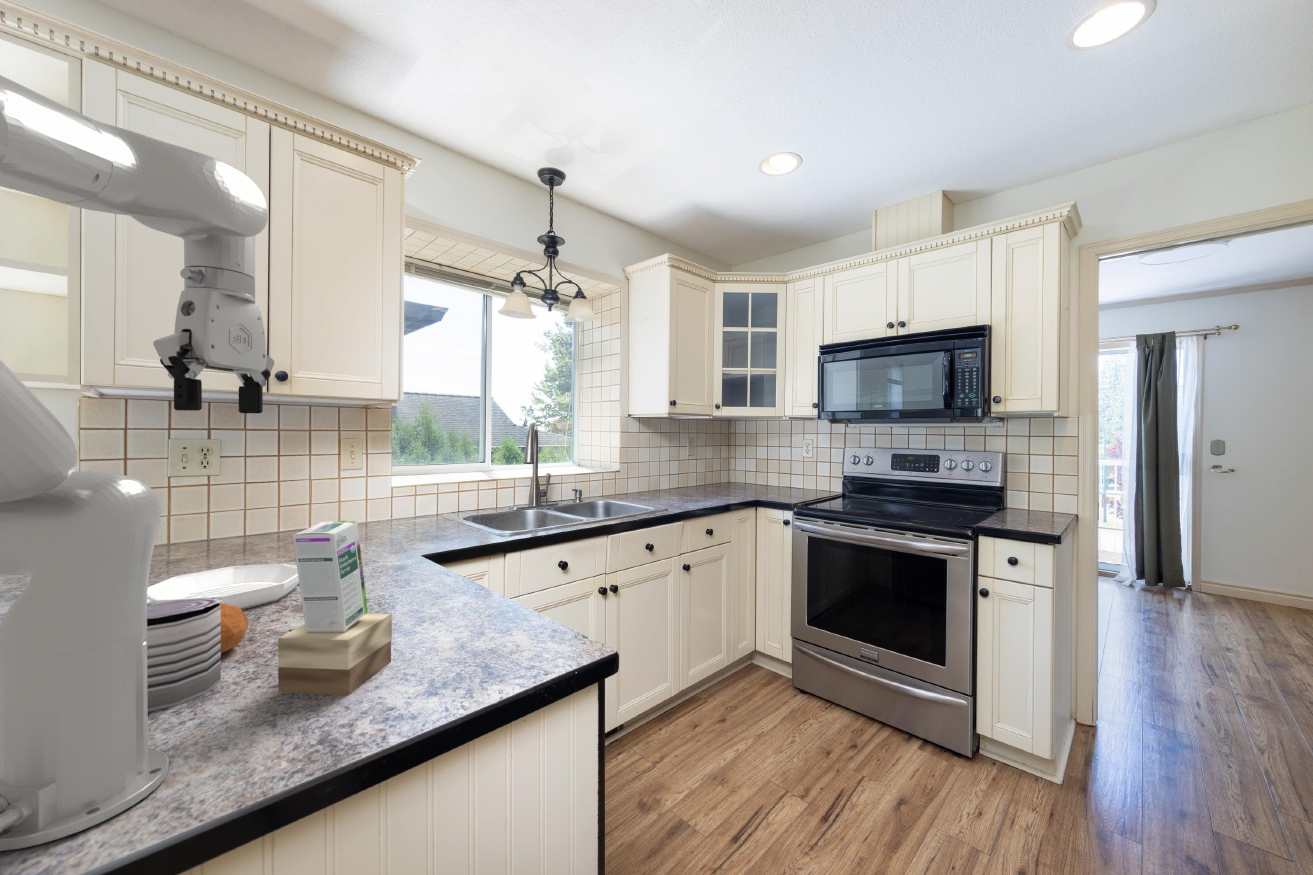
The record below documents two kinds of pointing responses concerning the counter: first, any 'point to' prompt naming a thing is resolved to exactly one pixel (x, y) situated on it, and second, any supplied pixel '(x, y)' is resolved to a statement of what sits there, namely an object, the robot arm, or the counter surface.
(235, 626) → the potato
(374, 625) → the tower top block
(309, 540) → the syrup box
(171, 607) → the can
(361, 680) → the tower base block
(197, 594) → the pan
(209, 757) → the counter surface
